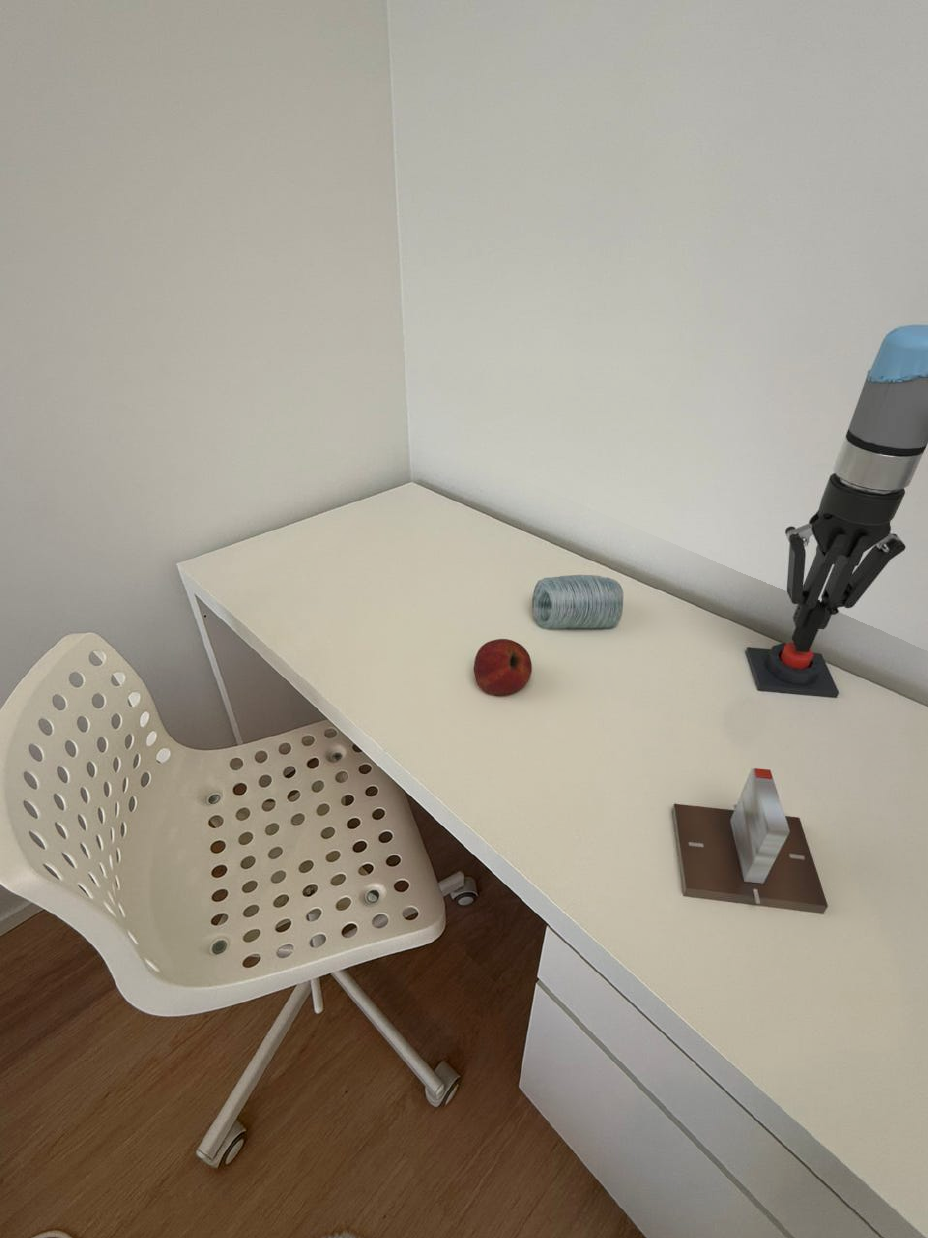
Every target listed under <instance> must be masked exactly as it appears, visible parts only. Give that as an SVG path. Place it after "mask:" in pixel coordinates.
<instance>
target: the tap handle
mask: <svg viewBox="0 0 928 1238" xmlns="http://www.w3.org/2000/svg"><path fill="white" fill-rule="evenodd" d="M735 805H736V808H735V810H734V809H733V810H734V813H733V815H732V818H731V820H730V822H731V827H732V831H733V835H734V840H735V844H736V848H737V853H738V857H739V861H740V865H741V870H742V874H743V878H744V881H745V882H752V883H761V884H763V883H764V881H765V879H766V877H767V875H768V873H769V871H770V869H771V867H772V865H773V863H774V861H775V859H776V857H777V856H778V854H779V852H780V850H781V848H782V846H783V844H784V842H785V840H786V838H787V836H788V834H789V832H790V831H789V827H788V824H787V821H786V818H785V816H786V814H785V812H784V809H783V805H782V802H781V798H780V796H779V793H778V789H777V786H776V783H775V780H774V777H773V773H772V770H771V769H768V768H759V767H754V768H753V767H751V769H750V771H749V774H748V776H747V779H746V781H745V783H744V786H743V788H742V791H741V793H740V796H739V798H738V801H737V802H736V804H735Z"/></svg>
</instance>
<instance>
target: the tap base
mask: <svg viewBox="0 0 928 1238" xmlns="http://www.w3.org/2000/svg"><path fill="white" fill-rule="evenodd" d="M736 805H737V804H733V809H728V808H727V809H726V808H718V807H711V806H710V807H709V806H700V805H691V804H682V803H673V806H672V809H671V817H672V824H673V830H674V837H675V838H674V839H675V846H676V853H677V860H678V861H677V862H678V869H679V875H680V882H681V889H682V896H683V897H685V898H694V899H701V900H711V901H718V902H725V903H732V904H742V905H749V906H757V907H765V908H772V909H780V910H781V909H782V910H787V911H794V912H795V911H796V912H804V913H812V914H819V915H824V914H825V912H826V911H827V909H828V908H829V905H828V902H827V899H826V896H825V895H826V894H825V893H824V890H823V886H822V884H821V880H820V877H819V873H818V871H817V868H816V865H815V862H814V858H813V855H812V853H811V849H810V846H809V842H808V840H807V837H806V833H805V830H804V827H803V824H802V820H801V819H800V817H797V816H789V815H785V818H786V821H787V824H788V827H789V831H790V832H789V834H788V836H787V838H786V840H785V842H784V844H783V846H782V848H781V850H780V852H779V854H778V856H777V857H776V859H775V861H774V863H773V865H772V867H771V869H770V871H769V873H768V875H767V877H766V879H765V881H764V883H763V884H761V883H752V882H745V881H744V878H743V874H742V870H741V865H740V861H739V857H738V853H737V848H736V844H735V840H734V835H733V831H732V827H731V822H730V820H731V818H732V815H733V813H734V810H735V808H736Z"/></svg>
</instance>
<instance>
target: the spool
mask: <svg viewBox="0 0 928 1238" xmlns="http://www.w3.org/2000/svg"><path fill="white" fill-rule="evenodd" d="M531 599H532V601H531V602H532V603H531V604H532V605H531V607H532V615H533V619H534V622H535V623H536V625H537V626H538V627H540V628H541V629H546V630H554V629H555V630H560V629H561V630H562V629H589V630H590V629H591V630H593V629H600V630H603V629H613V628H615V627H616V626H617V625H618V624H619V622H620V620H621V619H622V616H623V609H624V589H623V587H622V586H621V584H620V583H619V582H618V581H617V580H616V579H614V578H611V577H607V576H602V575H594V574H570V575H560V576H552V577H551V576H550V577H544V578H542V579H540V580H538V581H537V583H536V584H535V586H534V589H533V592H532V598H531Z"/></svg>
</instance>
